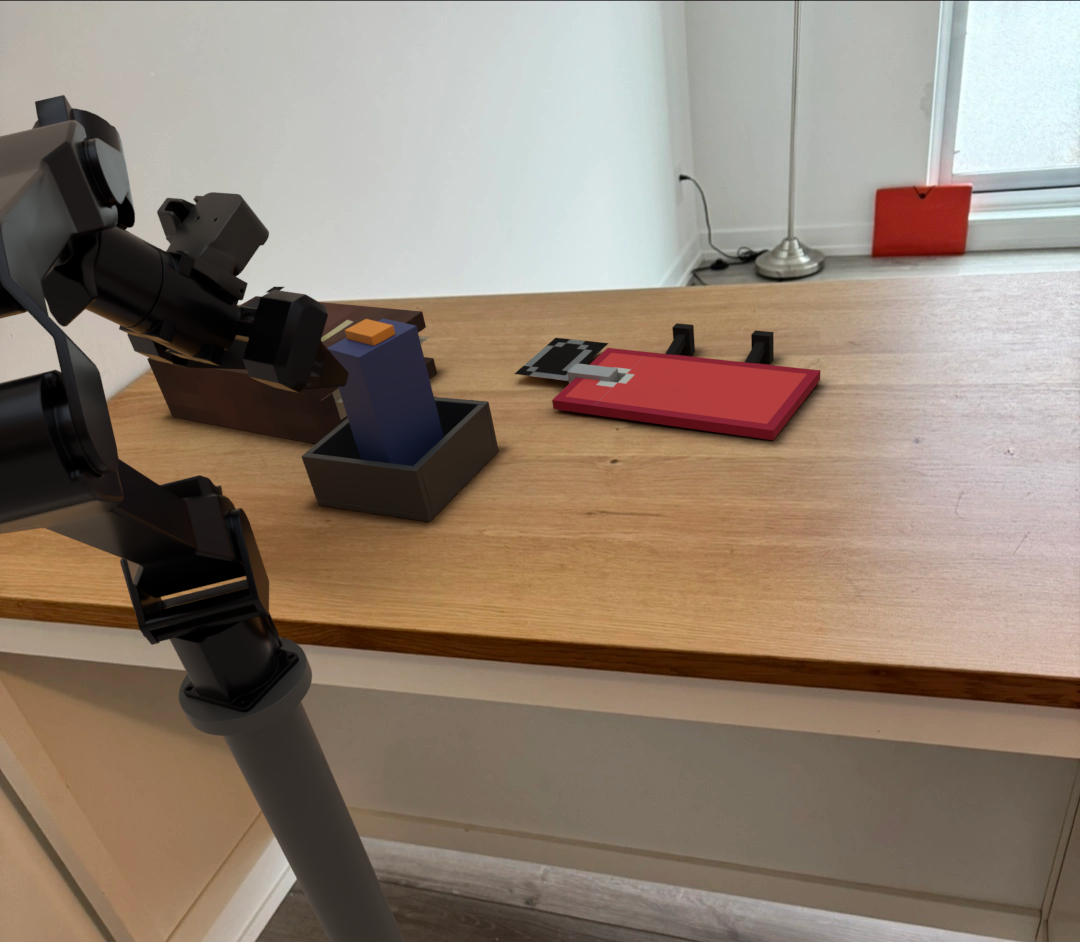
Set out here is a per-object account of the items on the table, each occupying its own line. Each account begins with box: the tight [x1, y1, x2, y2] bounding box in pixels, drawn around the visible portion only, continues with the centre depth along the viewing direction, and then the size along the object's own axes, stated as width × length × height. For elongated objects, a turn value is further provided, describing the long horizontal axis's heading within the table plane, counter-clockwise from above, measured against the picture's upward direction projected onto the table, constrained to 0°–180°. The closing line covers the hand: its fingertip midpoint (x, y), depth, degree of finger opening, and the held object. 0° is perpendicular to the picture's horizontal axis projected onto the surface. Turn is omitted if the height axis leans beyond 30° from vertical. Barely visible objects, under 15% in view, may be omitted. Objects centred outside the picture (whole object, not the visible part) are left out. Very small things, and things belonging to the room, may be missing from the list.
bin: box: [300, 396, 500, 523], centre depth 92 cm, size 12×12×5 cm
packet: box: [328, 318, 444, 466], centre depth 89 cm, size 6×4×14 cm
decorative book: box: [146, 286, 438, 445], centre depth 110 cm, size 19×8×30 cm
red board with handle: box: [514, 322, 821, 441], centre depth 99 cm, size 30×3×15 cm
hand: (307, 371), depth 81 cm, fingers open, 9 cm apart
